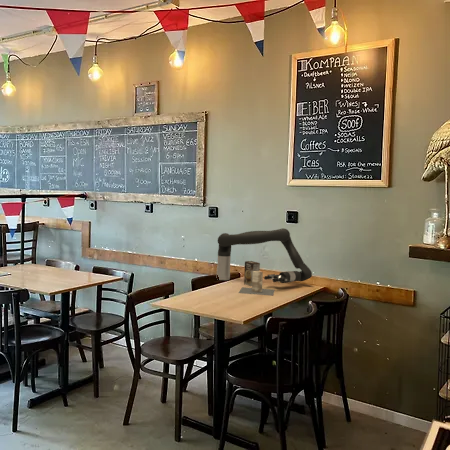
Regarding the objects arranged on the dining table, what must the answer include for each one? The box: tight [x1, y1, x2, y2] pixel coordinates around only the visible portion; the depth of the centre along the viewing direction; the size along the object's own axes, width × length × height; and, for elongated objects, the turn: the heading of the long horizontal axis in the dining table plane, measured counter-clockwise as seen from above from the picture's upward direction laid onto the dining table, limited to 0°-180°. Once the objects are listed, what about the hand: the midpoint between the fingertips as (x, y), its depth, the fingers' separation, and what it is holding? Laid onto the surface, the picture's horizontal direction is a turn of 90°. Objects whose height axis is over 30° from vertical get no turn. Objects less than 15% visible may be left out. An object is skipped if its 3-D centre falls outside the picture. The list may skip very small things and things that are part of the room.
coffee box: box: [243, 260, 261, 287], centre depth 325 cm, size 9×6×16 cm
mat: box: [238, 286, 276, 296], centre depth 306 cm, size 22×17×1 cm
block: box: [251, 270, 264, 292], centre depth 305 cm, size 5×5×13 cm
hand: (268, 279), depth 311 cm, fingers open, 8 cm apart
